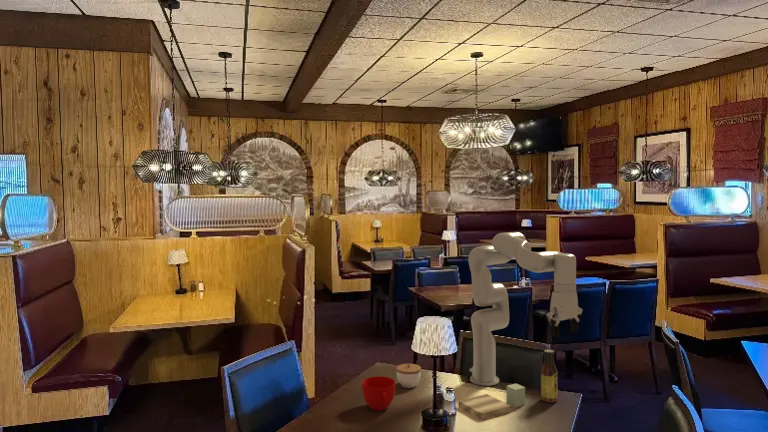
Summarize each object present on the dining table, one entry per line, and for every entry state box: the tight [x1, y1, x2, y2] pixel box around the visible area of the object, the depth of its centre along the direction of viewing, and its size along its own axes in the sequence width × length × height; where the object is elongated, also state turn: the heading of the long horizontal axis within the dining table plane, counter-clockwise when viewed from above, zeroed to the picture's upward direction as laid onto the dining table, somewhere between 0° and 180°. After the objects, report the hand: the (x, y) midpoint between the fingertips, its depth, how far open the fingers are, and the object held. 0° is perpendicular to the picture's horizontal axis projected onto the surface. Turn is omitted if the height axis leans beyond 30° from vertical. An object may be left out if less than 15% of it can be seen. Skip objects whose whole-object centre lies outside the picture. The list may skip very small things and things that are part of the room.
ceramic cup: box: [361, 376, 396, 411], centre depth 212 cm, size 13×17×10 cm
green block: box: [505, 383, 526, 408], centre depth 215 cm, size 5×5×7 cm
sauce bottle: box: [540, 349, 558, 403], centre depth 218 cm, size 6×6×20 cm
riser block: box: [458, 393, 512, 421], centre depth 210 cm, size 14×14×3 cm
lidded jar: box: [395, 363, 422, 389], centre depth 237 cm, size 11×11×9 cm
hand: (564, 334), depth 200 cm, fingers open, 9 cm apart
